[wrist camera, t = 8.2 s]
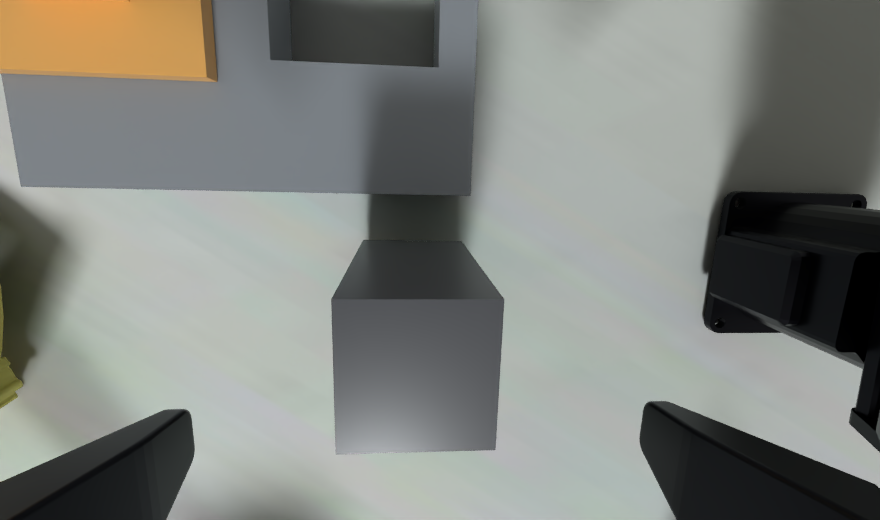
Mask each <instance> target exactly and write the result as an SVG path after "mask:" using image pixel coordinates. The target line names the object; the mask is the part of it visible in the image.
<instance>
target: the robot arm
mask: <svg viewBox="0 0 880 520" xmlns="http://www.w3.org/2000/svg"><path fill="white" fill-rule="evenodd" d="M737 199H739V205H738V206H737V207H735V202H736V200H737ZM852 203H853V206H852V207H851V205H852ZM866 206H867V201H866V198H865V197H864V196H863V195H859V194H836V193H792V192H747V191H734V192H731V193H729V194H728V195H727V196H726V197H725V199H724V202H723V207H722V213H721V219H720V225H719V231H718V238H717V242H716V248H715V254H714V260H713V267H712V273H711V279H710V285H709V293H708V300H707V306H706V312H705V318H704V324H705V326H706V327H707V328H708V329H710V330H712V331H713V332H716V333H784V334H786V335H788V336H791V337H793V338H795V339H797V340H800V341H802V342H804V343H806V344H809V345H811V346H813V347H815V348H818V349H820V350H822V351H824V352H827V353H829V354H831V355H833V356H835V357H838V358H840V359H842V360H844V361H847V362H849V363H851V364H853V365H856V366H858V367H860V368H862V369H863V371H862V377H861V382H860V387H859V392H858V398H857V403H856V408H852V409H851V414H850V420H849V423H850V425H851V426H852V427H854V428H855V429H856V430H857V431H858V432H859V433H860V434H861V435H862V436H863V437H864V438H865V439H866V440H867V441H868V442H869V443H871V444H872V445H873V446H874V447H875V448H876V449H877V450H878V451H879V452H880V210H874V209H866ZM718 318H719V322H718V323H717V324H715V321H716V320H717V319H718ZM640 446H641V449H642V451H643V454H644V456H645V458H646V460H647V462H648V464H649V466H650V468H651V470H652V472H653V474H654V476H655V478H656V480H657V482H658V484H659V486H660V488H661V490H662V492H663V494H664V496H665V498H666V500H667V502H668V504H669V506H670V508H671V510H672V512H673V513H674V515H675V517H676V519H677V520H880V488H878V487H877V486H876V485H875V484H873V483H870V482H868V481H865V480H863V479H860V478H858V477H855V476H853V475H850V474H848V473H845V472H843V471H840V470H838V469H835V468H833V467H830V466H828V465H825V464H823V463H820V462H818V461H815V460H813V459H810V458H808V457H805V456H803V455H800V454H798V453H795V452H793V451H790V450H788V449H785V448H783V447H780V446H778V445H775V444H773V443H770V442H768V441H765V440H763V439H760V438H758V437H755V436H753V435H750V434H748V433H745V432H743V431H740V430H738V429H735V428H733V427H730V426H728V425H725V424H723V423H720V422H718V421H715V420H713V419H710V418H708V417H705V416H703V415H700V414H698V413H695V412H693V411H690V410H688V409H685V408H683V407H680V406H678V405H675V404H673V403H670V402H667V401H651V402H648V403H646V404H645V406H644V410H643V416H642V424H641V431H640ZM194 451H195V447H194V437H193V428H192V418H191V415H190V412H189V411H188V410H185V409H168V410H163V411H161V412H158V413H156V414H154V415H152V416H149V417H147V418H145V419H143V420H140V421H138V422H136V423H134V424H131V425H129V426H127V427H124V428H122V429H120V430H118V431H115V432H113V433H111V434H109V435H106V436H104V437H102V438H100V439H97V440H95V441H93V442H91V443H88V444H86V445H84V446H81V447H79V448H77V449H75V450H72V451H70V452H68V453H66V454H63V455H61V456H59V457H57V458H54V459H52V460H50V461H48V462H45V463H43V464H41V465H38V466H36V467H34V468H32V469H29V470H27V471H25V472H23V473H20V474H18V475H16V476H14V477H11V478H9V479H7V480H5V481H2V482H0V520H166V519H167V517H168V514H169V512H170V510H171V508H172V506H173V503H174V501H175V499H176V497H177V494H178V492H179V490H180V488H181V486H182V483H183V481H184V479H185V477H186V474H187V472H188V470H189V468H190V466H191V463H192V461H193V457H194Z"/></svg>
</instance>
